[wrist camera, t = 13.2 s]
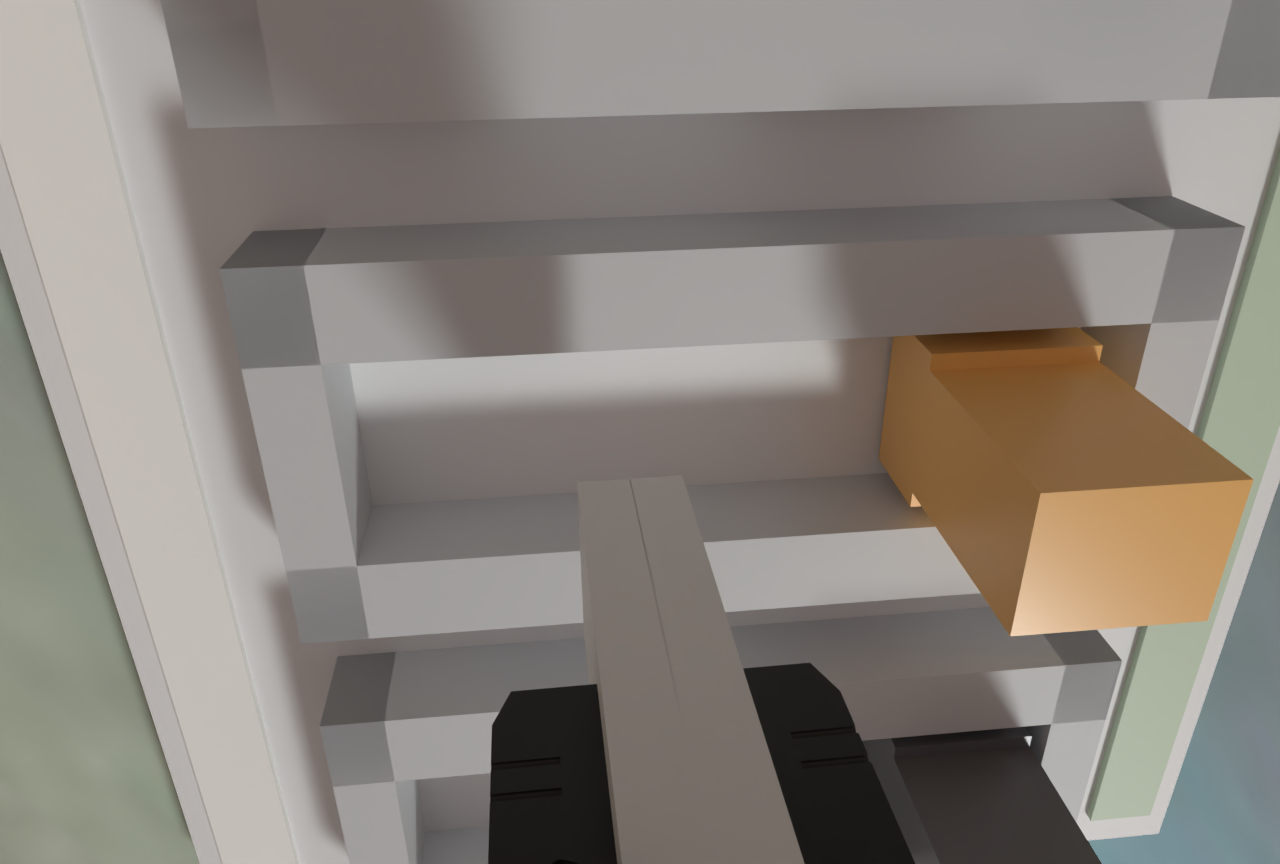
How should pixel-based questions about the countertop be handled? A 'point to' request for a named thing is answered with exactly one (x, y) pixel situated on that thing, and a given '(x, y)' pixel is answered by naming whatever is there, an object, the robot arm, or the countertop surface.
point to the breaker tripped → (1058, 481)
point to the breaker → (976, 799)
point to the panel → (607, 354)
